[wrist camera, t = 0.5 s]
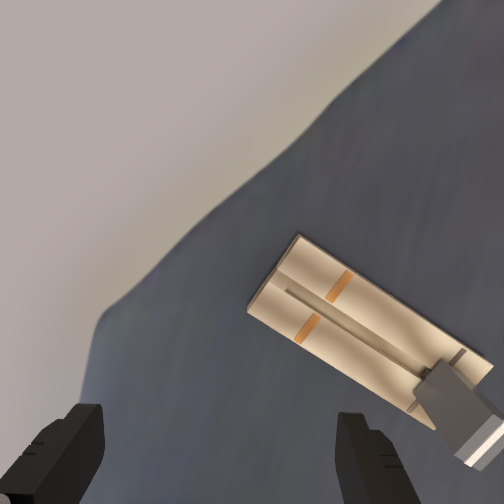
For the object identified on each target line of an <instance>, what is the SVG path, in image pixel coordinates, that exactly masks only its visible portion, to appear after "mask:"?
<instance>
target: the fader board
mask: <svg viewBox="0 0 504 504" xmlns="http://www.w3.org/2000/svg"><path fill="white" fill-rule="evenodd" d="M247 312H248V313H249V314H251V315H252V316H254V317H256V318H257V319H259V320H260V321H262V322H263V323H265V324H267V325H268V326H270V327H271V328H273V329H275V330H276V331H278V332H279V333H281V334H282V335H284V336H286V337H287V338H289V339H290V340H292V341H294V342H295V343H297V344H298V345H300V346H301V347H303V348H305V349H306V350H308V351H309V352H311V353H312V354H314V355H316V356H317V357H319V358H320V359H322V360H324V361H325V362H327V363H328V364H330V365H331V366H333V367H335V368H336V369H338V370H339V371H341V372H343V373H344V374H346V375H347V376H349V377H350V378H352V379H354V380H355V381H357V382H358V383H360V384H362V385H363V386H365V387H366V388H368V389H369V390H371V391H373V392H374V393H376V394H377V395H379V396H381V397H382V398H384V399H385V400H387V401H388V402H390V403H392V404H393V405H395V406H396V407H398V408H400V409H401V410H403V411H404V412H406V413H407V414H409V415H411V416H412V417H414V418H415V419H417V420H418V421H420V422H422V423H423V424H425V425H426V426H428V427H430V428H431V429H433V430H435V429H436V427H435V426H434V424H433V423H432V421H431V420H430V418H429V417H428V415H427V414H426V412H425V411H424V409H423V408H422V406H421V405H420V403H419V402H418V400H417V399H416V397H415V396H414V394H413V392H414V391H415V390H416V389H417V388H418V386H419V385H420V384H421V383H422V382H423V381H424V380H425V378H424V376H423V375H422V373H423V372H424V371H425V370H426V369H427V368H429V369H430V370H432V371H433V369H434V368H435V367H436V366H437V365H438V364H439V363H440V361H441V360H444V361H445V362H447V363H448V364H450V365H451V366H453V367H454V368H456V369H457V370H459V371H460V372H462V373H463V374H464V375H465V376H466V377H467V378H468V379H469V380H470V381H471V382H472V383H473V384H474V385H475V386H476V385H477V384H478V383H479V382H480V380H481V379H482V378H483V377H484V376H485V375H486V374H487V373H488V372H489V371H490V370H491V369H492V367H493V365H492V364H491V363H489V362H488V361H487V360H486V359H485V358H484V357H482V356H481V355H479V354H478V353H476V352H475V351H473V350H472V349H470V348H469V347H467V346H466V345H464V344H463V343H461V342H460V341H458V340H457V339H455V338H454V337H452V336H451V335H449V334H448V333H446V332H445V331H443V330H442V329H440V328H439V327H437V326H436V325H434V324H433V323H431V322H430V321H429V320H427V319H426V318H424V317H423V316H421V315H420V314H418V313H417V312H415V311H414V310H412V309H411V308H409V307H408V306H406V305H405V304H403V303H402V302H400V301H399V300H397V299H396V298H394V297H393V296H391V295H390V294H388V293H387V292H385V291H384V290H382V289H381V288H379V287H378V286H376V285H375V284H373V283H372V282H370V281H369V280H367V279H366V278H364V277H363V276H361V275H360V274H358V273H357V272H355V271H354V270H352V269H351V268H349V267H348V266H346V265H345V264H343V263H342V262H340V261H339V260H338V259H336V258H335V257H333V256H332V255H330V254H329V253H327V252H326V251H324V250H323V249H321V248H320V247H318V246H317V245H315V244H314V243H312V242H311V241H309V240H308V239H306V238H305V237H303V236H302V235H300V234H298V235H297V236H296V238H295V239H294V241H293V242H292V243H291V245H290V246H289V248H288V249H287V250H286V252H285V253H284V255H283V256H282V258H281V259H280V260H279V262H278V263H277V265H276V266H275V267H274V269H273V270H272V272H271V273H270V274H269V276H268V277H267V279H266V280H265V282H264V283H263V284H262V286H261V287H260V289H259V290H258V291H257V293H256V294H255V296H254V297H253V299H252V300H251V301H250V303H249V304H248V307H247Z"/></svg>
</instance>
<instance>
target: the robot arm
mask: <svg viewBox="0 0 504 504" xmlns="http://www.w3.org/2000/svg"><path fill="white" fill-rule="evenodd" d="M104 450H105V437H104V424H103V411H102V406H101V405H100V404H81V403H78V404H76V405H75V406H74V407H73V408H72V409H71V410H70V412H69V413H68V414H67V416H66V417H65V418H64V419H57V420H55V421H54V422H52V423H51V424H50V425H48V426H47V427H45V428H44V429H42V430H41V432H40V433H39V434H38V435H37V436H36V438H35V439H34V440H33V441H32V442H31V445H29V446H28V447H27V448H26V449H25V451H24V452H23V454H22V456H19V458H18V459H17V460H16V461H15V462H14V464H13V465H12V466H11V467H10V468H9V469H8V471H7V472H6V473H5V474H4V475H3V477H2V478H1V479H0V504H79V502H80V501H81V499H82V497H83V495H84V493H85V491H86V490H87V488H88V486H89V484H90V482H91V480H92V479H93V477H94V475H95V473H96V471H97V470H98V468H99V466H100V464H101V462H102V459H103V455H104ZM335 464H336V472H337V476H338V480H339V484H340V488H341V492H342V496H343V500H344V504H421V502H420V500H419V498H418V496H417V494H416V492H415V490H414V488H413V485H412V483H411V481H410V479H409V477H408V475H407V473H406V471H405V470H404V468H403V465H402V463H401V460H400V458H398V454H397V452H396V450H395V448H394V446H393V444H392V442H391V441H390V440H389V439H388V438H387V437H386V436H385V435H384V434H383V433H382V432H381V431H380V430H369V427H368V425H367V422H366V420H365V418H364V415H363V414H362V413H349V412H339V415H338V423H337V435H336V446H335Z"/></svg>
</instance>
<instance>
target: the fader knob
mask: <svg viewBox="0 0 504 504" xmlns="http://www.w3.org/2000/svg"><path fill="white" fill-rule="evenodd" d="M422 375H423V376H424V378H425V380H424V381H423V382H422V383H421V384H420V385H419V386H418V388H417V389H416V390H415V391H414V392H413V394H414V396H415V397H416V399H417V400H418V402H419V403H420V405H421V406H422V408H423V409H424V411H425V412H426V414H427V415H428V417H429V418H430V420H431V421H432V423H433V424H434V426H435V427H436V429H437V430H438V432H439V433H440V435H441V436H442V438H443V439H444V441H445V442H446V444H447V445H448V447H449V448H450V450H451V452H452V453H453V455H455V456H456V457H458V458H459V459H461V460H463V462H464V463H465V464H467V465H468V466H470V467H471V466H472V467H474V468H475V469H477V470H478V471H481V470H482V469H483V468H484V467H485V466H486V465H487V464H488V463H489V462H490V461H491V460H492V459H493V458H494V457H495V456H496V455H497V454H498V453H499V452H500V451H501V450H502V449H503V448H504V415H503V414H502V413H501V412H500V410H499V409H498V408H497V407H496V406H495V405H494V404H493V403H492V402H491V401H490V400H489V399H488V398H487V397H486V396H485V395H484V394H483V393H482V392H481V391H480V390H479V389H478V388H477V387H476V386H475V385H474V384H473V383H472V382H471V381H470V380H469V379H468V378H467V377H466V376H465V375H464V374H463V373H462V372H460V371H459V370H457V369H456V368H454V367H453V366H451V365H450V364H448V363H447V362H445V361H444V360H441V361H440V363H439V364H438V365H437V366H436V367H435V368H434V369H433V371H432V370H430V369H429V368H427V369H426V370H425V371H424V372H423V373H422Z"/></svg>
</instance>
